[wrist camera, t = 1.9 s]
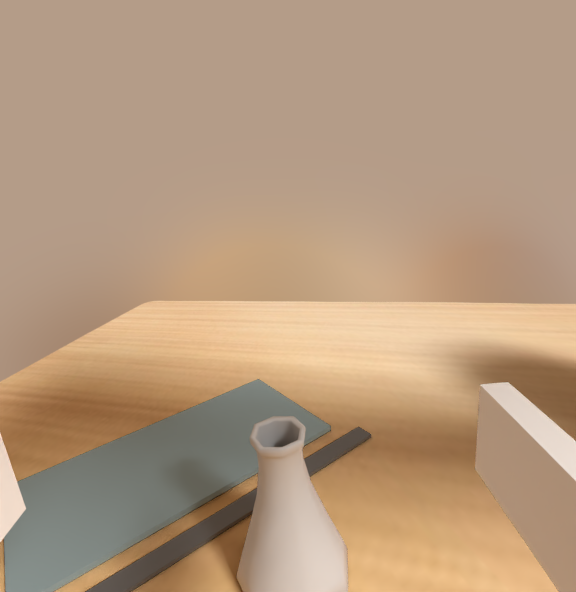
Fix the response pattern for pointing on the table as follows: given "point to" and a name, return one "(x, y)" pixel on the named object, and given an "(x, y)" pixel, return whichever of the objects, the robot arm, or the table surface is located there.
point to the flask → (289, 520)
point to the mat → (138, 486)
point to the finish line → (215, 524)
